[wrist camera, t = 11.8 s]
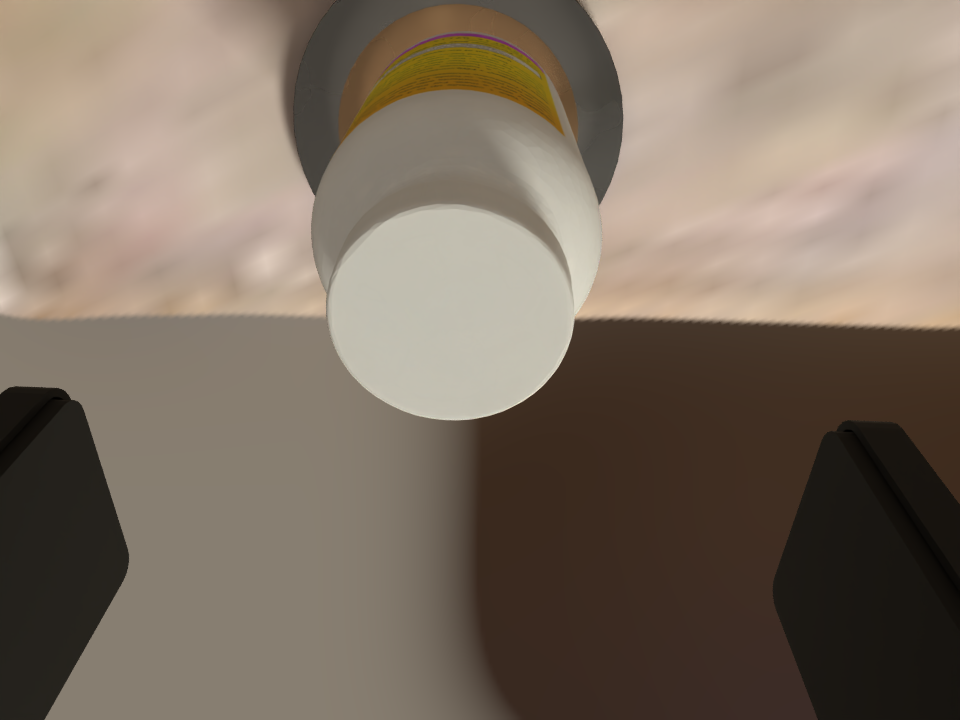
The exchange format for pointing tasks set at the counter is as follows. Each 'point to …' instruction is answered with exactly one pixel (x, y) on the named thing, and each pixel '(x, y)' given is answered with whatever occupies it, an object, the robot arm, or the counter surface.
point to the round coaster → (448, 8)
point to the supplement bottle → (456, 230)
